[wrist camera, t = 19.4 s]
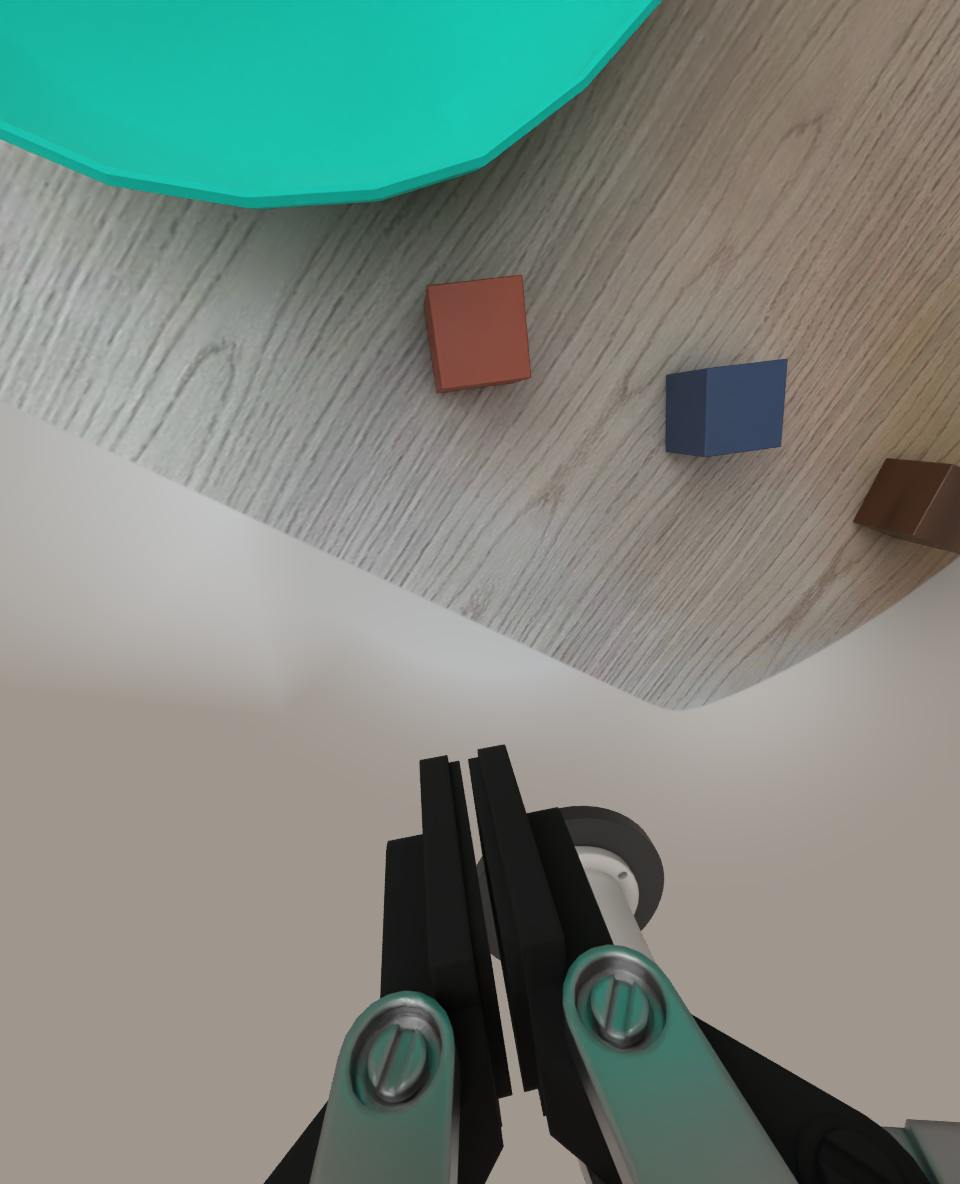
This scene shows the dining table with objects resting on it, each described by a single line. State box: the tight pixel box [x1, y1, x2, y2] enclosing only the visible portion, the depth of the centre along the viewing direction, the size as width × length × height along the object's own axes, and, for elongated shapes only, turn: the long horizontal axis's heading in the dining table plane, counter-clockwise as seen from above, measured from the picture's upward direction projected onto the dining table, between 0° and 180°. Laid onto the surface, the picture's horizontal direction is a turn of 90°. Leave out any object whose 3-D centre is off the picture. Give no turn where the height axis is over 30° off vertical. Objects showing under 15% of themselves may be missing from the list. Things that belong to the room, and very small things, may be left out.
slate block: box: [666, 359, 788, 457], centre depth 33 cm, size 5×5×5 cm
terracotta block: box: [424, 275, 531, 393], centre depth 30 cm, size 5×5×5 cm
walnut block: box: [854, 459, 960, 554], centre depth 37 cm, size 5×5×5 cm
